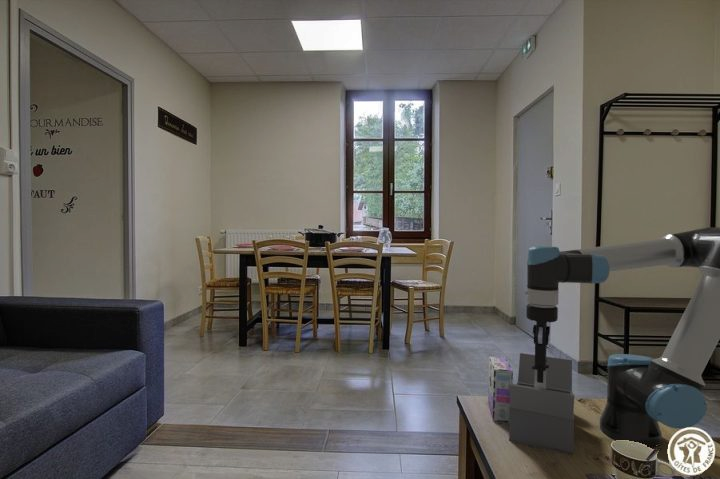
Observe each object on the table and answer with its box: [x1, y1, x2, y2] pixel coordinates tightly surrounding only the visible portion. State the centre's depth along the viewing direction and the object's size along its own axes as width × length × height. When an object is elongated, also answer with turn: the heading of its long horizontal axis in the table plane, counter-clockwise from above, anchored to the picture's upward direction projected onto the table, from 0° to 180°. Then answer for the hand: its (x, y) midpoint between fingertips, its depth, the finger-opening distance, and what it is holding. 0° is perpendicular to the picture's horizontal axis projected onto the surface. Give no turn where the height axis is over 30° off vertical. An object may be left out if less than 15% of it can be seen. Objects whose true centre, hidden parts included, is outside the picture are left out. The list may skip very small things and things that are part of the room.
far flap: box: [517, 352, 573, 391], centre depth 129 cm, size 16×10×1 cm
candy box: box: [487, 356, 514, 424], centre depth 130 cm, size 14×6×16 cm, turn 168°
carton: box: [508, 381, 575, 456], centre depth 118 cm, size 16×20×10 cm
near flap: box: [509, 383, 575, 420], centre depth 106 cm, size 16×10×1 cm
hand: (539, 392), depth 106 cm, fingers closed
